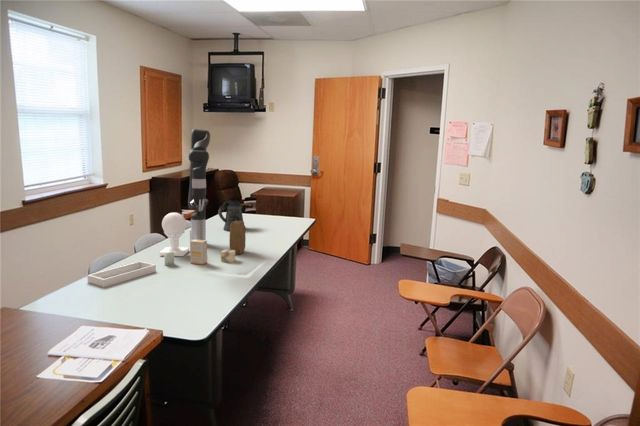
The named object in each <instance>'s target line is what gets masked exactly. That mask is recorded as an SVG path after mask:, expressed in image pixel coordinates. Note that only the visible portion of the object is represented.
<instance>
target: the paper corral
mask: <svg viewBox="0 0 640 426" xmlns="http://www.w3.org/2000/svg"><path fill="white" fill-rule="evenodd" d="M156 268H157V265H156V264H155V263H150V262H145V261H141V260H138V261H135V262H133V263H128V264H125V265H121V266H116V267H113V268H108V269H106V270H102V271H98V272H93V273H91V274H88V275H86V276H87V277H86V278H87V283H89V284H91V285H95V286H98V287H102V288H105V287H109V286H112V285H116V284H119V283H123V282H126V281H129V280H132V279H135V278H139V277H142V276H145V275H149V274H151V273H156V271H157V269H156Z"/></svg>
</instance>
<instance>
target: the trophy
mask: <svg viewBox="0 0 640 426" xmlns="http://www.w3.org/2000/svg"><path fill="white" fill-rule="evenodd" d="M186 227H187V221H186V218H185V217H184V216H183V215H182V214H181V213H179V212H169V213H168V214H166V215H165V216H164V217H163V218H162V221H161V228H162V229H163V233H164V234H165V236H166V237H167V238H168V239H169V247H168V246H166V247H165V248H163V249H162V250H161V251H159V254H158V255H159V256H161V257H164V252H166V251H174V257H184V256H185V255H186V254H187V253H189V252H190V247H180V246H179V245H180V244H179V243H180V242H179V241H180V238H181V237H182V236H183V234H184V233H185V229H186Z"/></svg>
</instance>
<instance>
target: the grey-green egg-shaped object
mask: <svg viewBox="0 0 640 426" xmlns="http://www.w3.org/2000/svg"><path fill="white" fill-rule="evenodd" d="M163 258H164V266H166V267H170V266H174V265H175V256H174V251H166V252H164V256H163Z"/></svg>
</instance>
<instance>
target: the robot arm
mask: <svg viewBox="0 0 640 426" xmlns="http://www.w3.org/2000/svg"><path fill="white" fill-rule="evenodd" d="M210 143H211V133H210V131H209V130H207V129H206V130H205V129H198V128H193V129H192V130H191V133H190V151H189V153H188V160H189V162H190V164H189V165H190V167H189V187H188V188H189V189H188V198H187V204H188V209H191V210H193V211H195V212H194V213H191V214H190V229H189V242H190V241H191V240H194V239H197V240H206V238H207V237H206V236H207V235H206V230H207V228H206V212H207V208H206V207H207V205H208V204H209V201H210V200H209V199H207V197H206V195H207V179H206V177H207V176H206V175H207V172H206V171H207V166H208V162H209V159H210V154H209V152H208V151H207V148H208V147H209V145H210ZM206 241H207V240H206Z"/></svg>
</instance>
